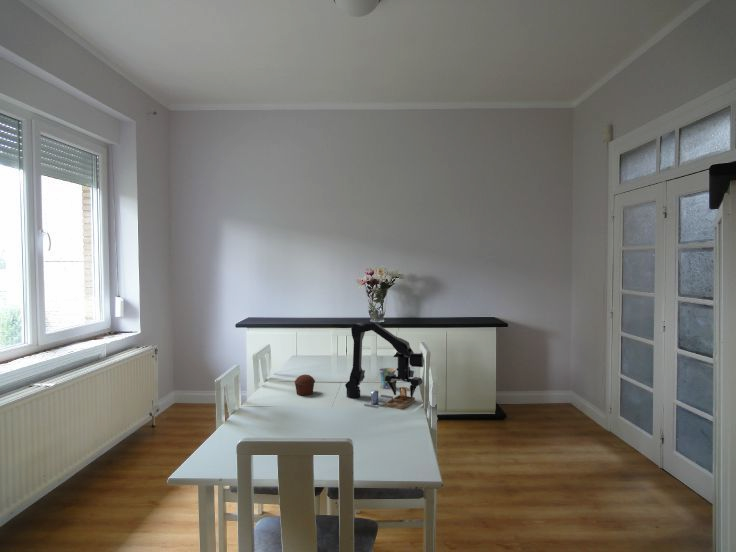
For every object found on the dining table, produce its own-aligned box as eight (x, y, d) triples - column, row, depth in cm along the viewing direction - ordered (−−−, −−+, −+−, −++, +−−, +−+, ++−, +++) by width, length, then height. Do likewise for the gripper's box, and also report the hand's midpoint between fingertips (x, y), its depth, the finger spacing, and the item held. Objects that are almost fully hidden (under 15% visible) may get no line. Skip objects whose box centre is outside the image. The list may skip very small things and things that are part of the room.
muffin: (311, 397, 243) (310, 378, 242) (291, 396, 245) (291, 377, 245) (317, 390, 254) (317, 373, 254) (299, 389, 257) (298, 372, 256)
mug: (378, 386, 262) (378, 368, 262) (394, 385, 263) (394, 367, 263) (380, 392, 250) (380, 373, 250) (397, 391, 251) (397, 372, 251)
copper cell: (398, 400, 231) (398, 387, 231) (401, 399, 234) (401, 385, 234) (405, 402, 229) (405, 388, 229) (408, 400, 233) (408, 386, 232)
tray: (384, 408, 224) (384, 403, 224) (399, 399, 238) (399, 394, 238) (401, 411, 219) (401, 406, 219) (415, 401, 233) (414, 397, 233)
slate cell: (369, 404, 227) (369, 390, 227) (373, 402, 230) (373, 389, 230) (376, 405, 225) (376, 391, 225) (379, 403, 228) (379, 390, 228)
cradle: (364, 407, 225) (363, 403, 225) (381, 397, 241) (381, 394, 241) (376, 409, 222) (376, 406, 222) (393, 399, 237) (393, 396, 237)
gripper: (426, 364, 233) (426, 394, 234) (393, 360, 243) (394, 389, 243) (417, 369, 224) (417, 400, 224) (384, 365, 233) (384, 395, 234)
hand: (403, 396), depth 232 cm, fingers open, 9 cm apart
